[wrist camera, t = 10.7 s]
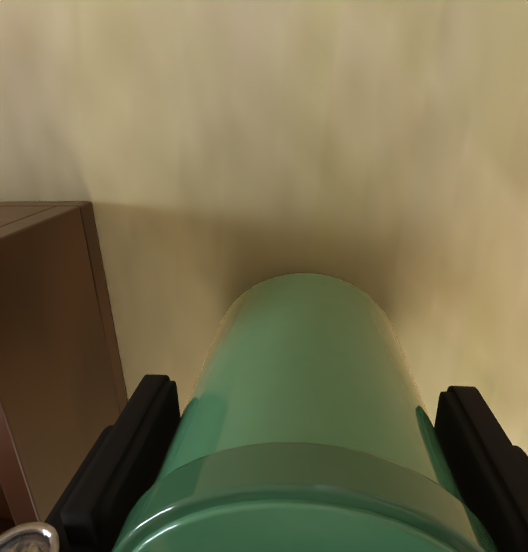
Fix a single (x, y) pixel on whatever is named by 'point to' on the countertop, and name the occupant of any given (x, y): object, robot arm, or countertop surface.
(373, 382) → the pot
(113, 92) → the countertop surface
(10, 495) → the bin
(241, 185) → the countertop surface
